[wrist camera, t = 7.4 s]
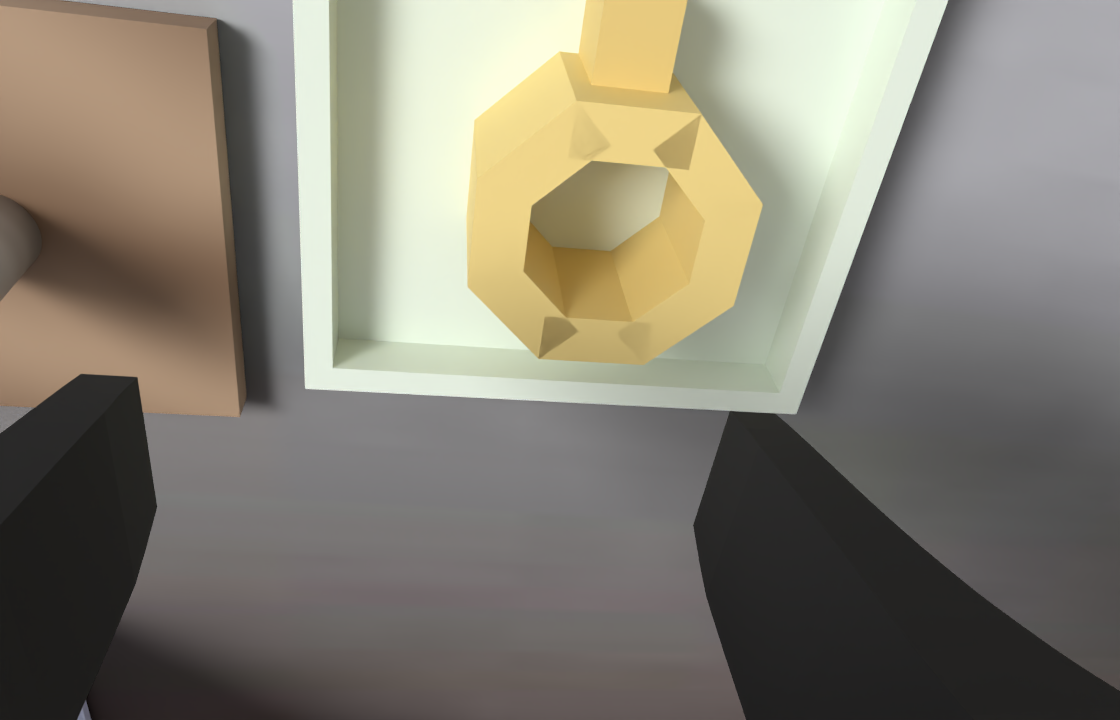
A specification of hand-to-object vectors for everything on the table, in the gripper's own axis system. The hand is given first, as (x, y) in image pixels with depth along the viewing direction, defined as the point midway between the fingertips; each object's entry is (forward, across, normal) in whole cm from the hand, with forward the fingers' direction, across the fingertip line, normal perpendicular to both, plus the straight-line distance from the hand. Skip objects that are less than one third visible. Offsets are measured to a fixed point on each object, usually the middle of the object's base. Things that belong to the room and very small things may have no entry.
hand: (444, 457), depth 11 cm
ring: (+9, -3, 0) cm, 9 cm away
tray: (+9, -3, -1) cm, 10 cm away
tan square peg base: (+9, +9, +2) cm, 13 cm away
